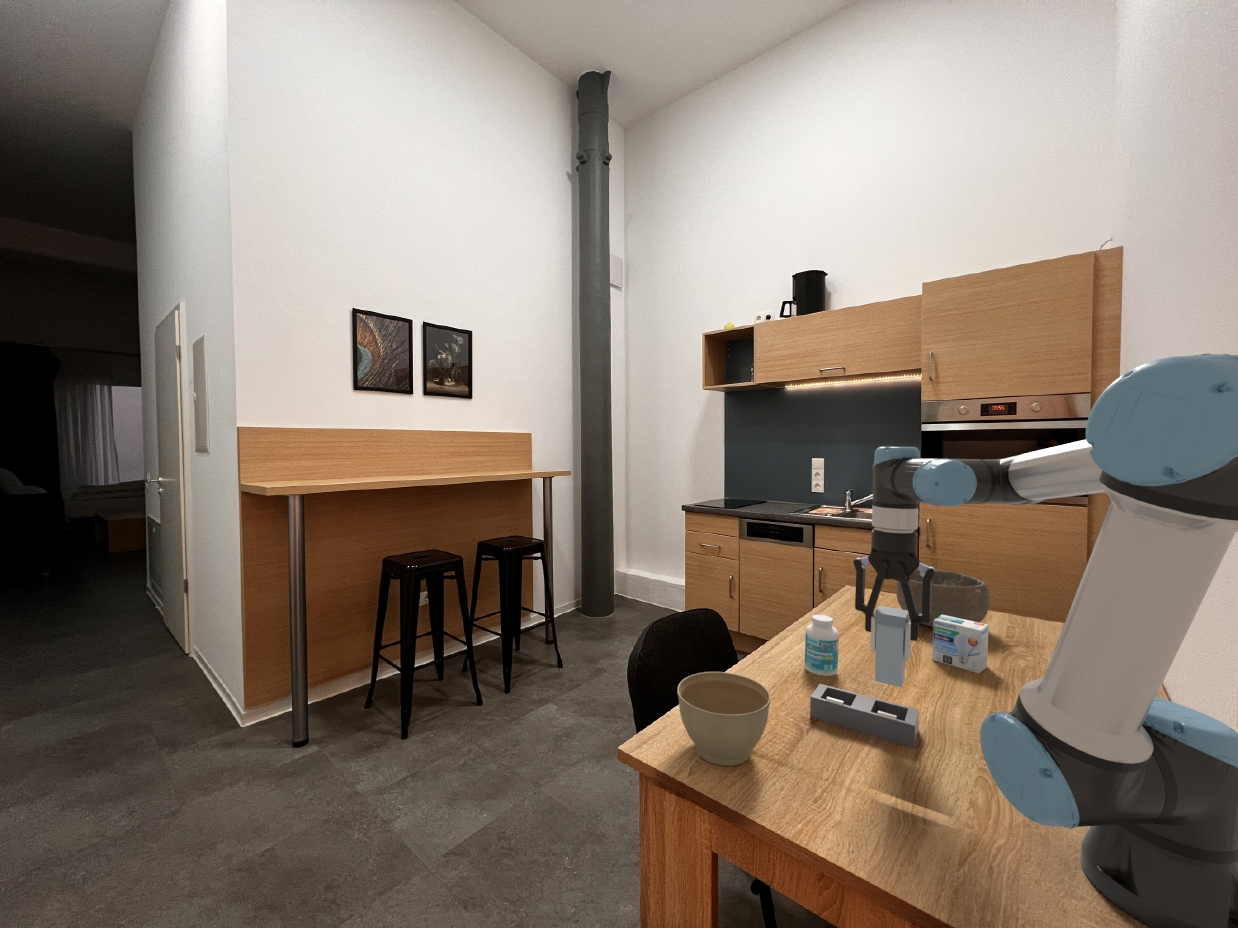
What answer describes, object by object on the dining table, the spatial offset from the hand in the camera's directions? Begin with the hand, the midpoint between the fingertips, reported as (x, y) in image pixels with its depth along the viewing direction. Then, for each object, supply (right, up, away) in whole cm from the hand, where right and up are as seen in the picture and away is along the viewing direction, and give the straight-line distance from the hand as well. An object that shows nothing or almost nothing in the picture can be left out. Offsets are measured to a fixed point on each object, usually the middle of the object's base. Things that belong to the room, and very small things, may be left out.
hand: (890, 652), depth 97 cm
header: (-4, -16, +3) cm, 17 cm away
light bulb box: (+35, -15, +34) cm, 51 cm away
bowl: (+48, -15, +63) cm, 81 cm away
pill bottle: (-2, -15, +28) cm, 32 cm away
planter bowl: (-33, -16, -5) cm, 37 cm away
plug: (0, -5, 0) cm, 5 cm away
